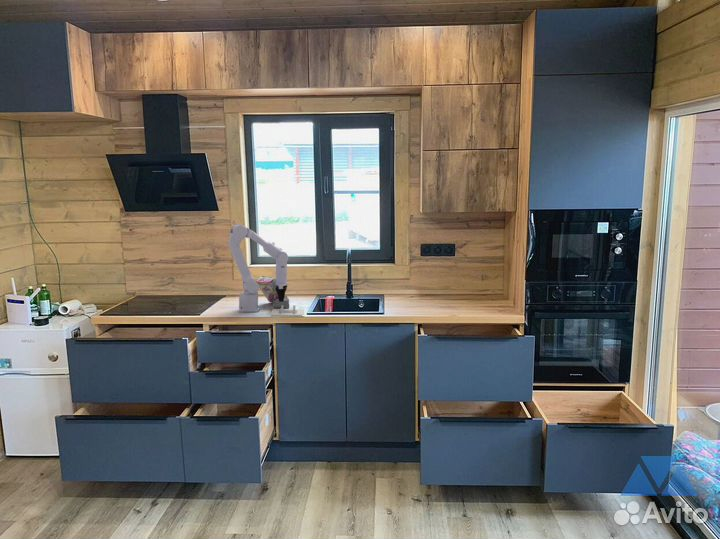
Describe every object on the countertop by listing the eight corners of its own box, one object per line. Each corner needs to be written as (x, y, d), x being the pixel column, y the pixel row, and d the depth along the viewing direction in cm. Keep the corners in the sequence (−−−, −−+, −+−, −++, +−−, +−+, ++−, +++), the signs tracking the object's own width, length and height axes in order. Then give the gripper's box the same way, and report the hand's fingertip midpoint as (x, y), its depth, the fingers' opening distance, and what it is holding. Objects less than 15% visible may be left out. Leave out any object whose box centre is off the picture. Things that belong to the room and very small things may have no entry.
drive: (273, 310, 280) (273, 300, 279) (273, 308, 284) (273, 298, 283) (289, 310, 280) (289, 300, 280) (289, 308, 285) (289, 298, 284)
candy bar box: (269, 303, 297) (254, 282, 287) (274, 296, 299) (260, 275, 290) (283, 305, 290) (269, 283, 280) (288, 298, 293) (274, 277, 283)
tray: (270, 316, 264) (270, 309, 264) (272, 310, 278) (272, 304, 277) (303, 316, 265) (304, 309, 265) (304, 310, 279) (304, 304, 279)
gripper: (288, 276, 273) (288, 303, 275) (289, 272, 287) (289, 297, 289) (274, 276, 272) (274, 303, 274) (276, 272, 287) (276, 297, 288)
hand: (281, 300), depth 282 cm, fingers open, 5 cm apart
